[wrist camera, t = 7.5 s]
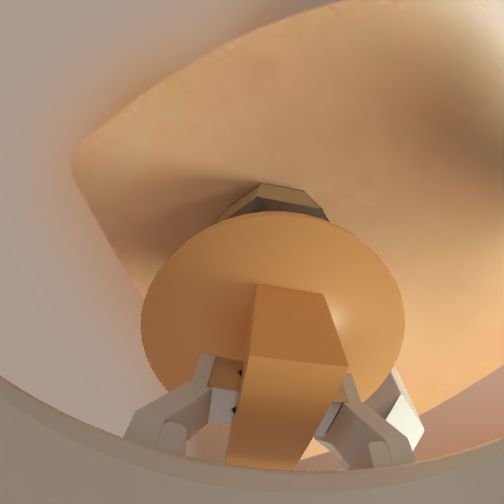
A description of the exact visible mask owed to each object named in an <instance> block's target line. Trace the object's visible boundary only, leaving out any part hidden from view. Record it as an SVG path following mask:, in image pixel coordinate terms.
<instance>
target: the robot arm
mask: <svg viewBox="0 0 504 504" xmlns="http://www.w3.org/2000/svg"><path fill="white" fill-rule="evenodd" d="M242 369H243V361H238V360H233V359H228V358H224V357H219V356H213V355H209V354H204V353H202V354H201V355H200V357H199V360H198V363H197V366H196V369H195V372H194V375H193V378H192V381H191V383H188V382H186V383H185V384H183V385H181V386H179V387H178V388H176V389H174V390H172V391H171V392H169V393H167V394H165V395H164V396H162V397H160V398H158V399H157V400H155V401H153V402H151V403H150V404H147V405H146V406H144V407H142V408H140V409H138V410H136V412H135V414H134V416H133V418H132V420H131V422H130V424H129V426H128V428H127V430H126V433H125V435H124V437H120V436H117V435H115V434H112V433H109V432H107V431H104V430H101V429H99V428H97V427H94V426H92V425H90V424H87V423H85V422H82V421H80V420H78V419H76V418H74V417H72V416H70V415H68V414H65V413H63V412H61V411H59V410H57V409H55V408H54V407H52V406H50V405H48V404H46V403H44V402H42V401H41V400H39V399H37V398H35V397H33V396H32V395H30V394H28V393H26V392H25V391H23V390H21V389H20V388H18V387H17V386H15V385H14V384H12V383H10V382H9V381H7V380H6V379H4V378H3V377H1V376H0V504H504V437H501V438H498V439H496V440H493V441H490V442H488V443H485V444H482V445H479V446H476V447H473V448H470V449H466V450H463V451H459V452H456V453H452V454H448V455H445V456H440V457H436V458H432V459H427V460H423V461H418V462H416V460H415V457H414V454H413V451H412V448H411V446H410V443H409V440H408V438H407V437H406V436H405V435H403V434H402V433H401V432H400V431H398V430H397V429H396V428H395V427H393V426H392V425H391V424H390V423H389V422H387V421H386V420H385V419H384V418H382V417H381V416H380V415H379V414H378V413H376V412H375V411H374V410H373V409H371V408H370V407H369V406H368V405H367V404H365V403H361V400H360V397H359V394H358V391H357V388H356V385H355V382H354V379H353V376H352V374H351V373H346V374H345V376H344V378H343V380H342V383H341V385H340V387H339V389H338V391H337V393H336V395H335V397H334V399H333V401H332V403H331V405H330V407H329V409H328V411H327V412H326V414H325V416H324V418H323V420H322V422H321V424H320V425H319V427H318V429H317V431H316V433H315V434H323V435H325V436H326V437H327V439H328V440H329V441H330V442H331V444H332V445H333V446H334V447H335V449H336V450H337V451H338V452H339V454H340V455H341V456H342V457H343V459H344V460H345V461H346V462H347V464H348V465H349V466H350V467H349V469H348V470H338V471H294V470H276V469H264V468H254V467H246V466H238V465H231V464H225V463H219V462H213V461H208V460H202V459H198V458H192V457H188V456H186V441H188V440H189V439H190V438H191V437H192V436H193V435H195V434H196V433H197V432H198V431H199V430H200V429H202V428H203V427H204V426H205V425H206V424H207V423H208V422H214V423H219V424H226V425H232V424H233V420H234V415H235V409H236V406H237V402H238V397H239V392H240V385H241V374H242Z"/></svg>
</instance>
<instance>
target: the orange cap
mask: <svg viewBox="0 0 504 504" xmlns="http://www.w3.org/2000/svg"><path fill="white" fill-rule="evenodd" d="M404 327H405V320H404V308H403V303H402V298H401V295H400V292H399V289H398V287H397V284H396V282H395V280H394V278H393V277H392V275H391V273H390V272H389V270H388V268H387V267H386V266H385V265H384V263H383V262H382V261H381V260H380V259H379V258H378V256H377V255H376V254H375V253H374V252H373V251H372V250H371V249H370V248H369V247H367V246H366V245H365V244H364V243H363V242H362V241H360V240H359V239H358V238H357V237H356V236H354V235H353V234H351V233H350V232H348V231H346V230H345V229H343V228H341V227H340V226H338V225H335V224H333V223H331V222H328V221H326V220H324V219H321V218H317V217H313V216H310V215H306V214H301V213H293V212H285V211H266V212H256V213H250V214H243V215H240V216H236V217H233V218H229V219H226V220H223V221H221V222H219V223H216V224H214V225H212V226H210V227H208V228H206V229H204V230H203V231H201V232H199V233H198V234H196V235H195V236H193V237H192V238H190V239H189V240H188V241H187V242H186V243H184V244H183V245H182V246H181V247H180V248H179V249H178V250H177V251H176V252H175V253H174V254H173V255H172V256H171V257H170V258H169V259H168V260H167V262H166V263H165V264H164V265H163V266H162V268H161V269H160V270H159V271H158V273H157V274H156V276H155V278H154V280H153V281H152V283H151V285H150V287H149V289H148V292H147V295H146V297H145V300H144V305H143V310H142V314H141V334H142V342H143V346H144V349H145V353H146V356H147V359H148V361H149V363H150V365H151V368H152V369H153V371H154V373H155V375H156V376H157V378H158V379H159V381H160V382H161V383H162V384H163V386H164V387H165V388H166V389H167V391H168V392H171V391H172V390H174V389H176V388H178V387H179V386H181V385H183V384H185V383H186V382H188V383H191V381H192V378H193V375H194V372H195V369H196V366H197V363H198V360H199V357H200V355H201V354H202V353H204V354H209V355H213V356H219V357H224V358H228V359H233V360H238V361H243V369H242V374H241V385H240V392H239V397H238V402H237V406H236V409H235V415H234V420H233V424H232V425H226V424H219V423H217V424H219V425H222V426H225V427H228V428H230V429H229V436H228V443H227V449H226V456H225V462H224V463H225V464H231V465H238V466H246V467H254V468H264V469H276V470H293V469H294V467H295V466H296V464H297V463H298V461H299V460H300V458H301V456H302V455H303V453H304V451H305V450H306V448H307V446H308V445H309V443H310V441H311V440H312V438H313V436H314V434H315V433H316V431H317V429H318V427H319V425H320V424H321V422H322V420H323V418H324V416H325V414H326V412H327V411H328V409H329V407H330V405H331V403H332V401H333V399H334V397H335V395H336V393H337V391H338V389H339V387H340V385H341V383H342V380H343V378H344V376H345V374H346V373H351V374H352V376H353V379H354V382H355V385H356V388H357V391H358V394H359V397H360V400H361V403H363V402H364V401H365V400H367V399H368V398H369V397H370V396H371V395H372V394H373V393H374V392H375V391H376V390H377V389H378V388H379V387H380V385H381V384H382V383H383V382H384V380H385V379H386V378H387V376H388V374H389V373H390V371H391V369H392V368H393V366H394V364H395V362H396V359H397V357H398V355H399V352H400V349H401V345H402V341H403V335H404Z"/></svg>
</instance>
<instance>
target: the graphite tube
mask: <svg viewBox="0 0 504 504" xmlns="http://www.w3.org/2000/svg"><path fill="white" fill-rule="evenodd" d="M266 211H285V212H293V213H301V214H306V215H310V216H313V217H317V218H321V219H324V220H326V221H328V222H329V220H328V219H327V217H326V215H325V214H324V212H323V209H322V208H321V207H320V206H319V205H318V204H317V203H316V202H315V201H314V200H313V199H312V198H311V197H310V196H309V195H308V194H307V193H306V192H304V191H300V190H294V189H289V188H284V187H279V186H273V185H268V184H264V183H261V185H259V186H258V187H256V188H255V189H254V190H252V191H251V192H249V193H248V194H246V195H245V196H244V197H242V198H241V199H239V200H238V201H237V202H235V203H234V204H232V205H231V206H228V207H227V208H226V210H225V211H224V212H223V213H222V214H221V215H220V216H219V217H218V219H217V220H216V221H215V222H214V223H213V224H212V225H214V224H216V223H219V222H221V221H223V220H226V219H229V218H233V217H236V216H240V215H243V214H250V213H256V212H266ZM212 225H211V226H212Z"/></svg>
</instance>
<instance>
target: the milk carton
mask: <svg viewBox="0 0 504 504" xmlns="http://www.w3.org/2000/svg"><path fill="white" fill-rule="evenodd" d="M363 403H365V404H367V405H368V406H369V407H370V408H371V409H373V410H374V411H375V412H376V413H378V414H379V415H380V416H381V417H382V418H384V419H385V420H386V421H387V422H389V423H390V424H391V425H392V426H393V427H395V428H396V429H397V430H398V431H400V432H401V433H402V434H403V435H405V436H406V437H407V438H408V440H409V443H410V446H411V448H412V451H413V450H414V448H415V446H416V445H417V443H418V441H419V439H420V438H421V436H422V434H423V432H424V428H423V426H422V423H421V421H420V419H419V417H418V414H417V412H416V410H415V408H414V406H413V403H412V401H411V399H410V397H409V395H408V393H407V391H406V389H405V386H404V384H403V382H402V380H401V378H400V376H399V374H398V372H397V370H396V368H395V366H393V368H392V369H391V371H390V373H389V374H388V376H387V378H386V379H385V380H384V382H383V383H382V384H381V385H380V387H379V388H378V389H377V390H376V391H375V392H374V393H373V394H372V395H371V396H370V397H369V398H368V399H367V400H365V401H364V402H363ZM314 438H315V440H317V441H318V442H319V443H321V444H322V445H323V446H325V447H326V448H327V449H329V450H330V451H331V452H333V453H334V454H335V455H337V456H338V457H340V458H341V459H342V461H341V463H340V464H339V466H338V469H339V470H348V469H349V467H350V466H349V465H348V464H347V462H346V461H345V460H344V459H343V457H342V456H341V455H340V454H339V452H338V451H337V450H336V449H335V447H334V446H333V445H332V444H331V442H330V441H329V440H328V439H327V437H326V436H325V435H323V434H314Z"/></svg>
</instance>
